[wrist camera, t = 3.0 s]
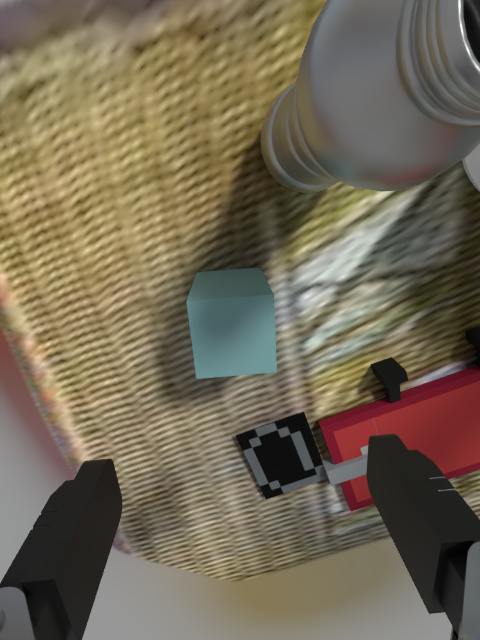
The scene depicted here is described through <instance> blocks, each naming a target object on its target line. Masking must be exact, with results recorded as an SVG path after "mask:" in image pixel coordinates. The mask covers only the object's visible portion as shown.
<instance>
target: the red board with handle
mask: <svg viewBox="0 0 480 640" xmlns="http://www.w3.org/2000/svg"><path fill="white" fill-rule="evenodd" d="M465 332H466V339H467V341H468V342H470V343H471V344H473V345H475V346H476V347H478V352H477V362H476V366H474V367H471V368H468V369H465V370H462V371H460V372H457V373H454V374H451V375H448V376H445V377H442V378H440V379H437V380H434V381H431V382H428V383H425V384H422V385H420V386H417V387H414V388H411V389H408V390H405V391H402V392H400V383H402V382H405V381H408V377H407V372H406V370H405V369H403V368H402V367H401V366H400V365H399V364H398V363H397V362H396V361H395V360H394V359H393V358H392V357H391V358H388V359H385V360H382V361H379V362H377V363H374V364H371V366H372V369H373V373H374V374H375V375H376V377H377V378H378V379H379V380H380V381H381V382H382V384H383V385H384V387H385V395H386V397H385V398H382V399H380V400H377V401H374V402H371V403H368V404H365V405H362V406H360V407H357V408H354V409H351V410H348V411H345V412H342V413H340V414H337V415H334V416H331V417H328V418H325V419H323V420H320V421H318V423H319V425H320V428H321V431H322V434H323V436H324V439H325V442H326V445H327V448H328V450H329V453H330V456H331V457H329V458H326V459H323V460H322V459H321V457H320V454H319V451H318V449H317V446H316V443H315V441H314V438H313V435H312V433H311V430H310V427H309V425H308V422H307V419H306V416H305V414H304V412H302V413H299V414H296V415H293V416H291V417H288V418H285V419H282V420H279V421H276V422H274V423H271V424H268V425H265V426H262V427H259V428H257V429H254V430H251V431H248V432H245V433H243V434H240V435H237V436H236V437H237V440H238V442H239V444H240V446H241V448H242V450H243V452H244V454H245V456H246V458H247V460H248V463H249V465H250V467H251V469H252V471H253V473H254V475H255V477H256V479H257V481H258V484H259V486H260V488H261V490H262V492H263V494H264V496H265V498H266V499H269V498H272V497H275V496H278V495H280V494H283V493H286V492H289V491H292V490H295V489H298V488H301V487H304V486H307V485H310V484H313V483H316V482H319V481H322V480H325V479H328V478H329V481H330V483H331V486H333V485H336V484H339V483H340V484H341V487H342V489H343V492H344V495H345V498H346V500H347V503H348V506H349V508H350V510H351V511H354V510H357V509H360V508H363V507H366V506H369V505H372V504H375V503H374V501H373V499H372V497H371V494H370V492H369V488H368V484H367V476H366V472H367V457H368V442H369V437H370V436H374V435H385V434H396V435H398V437H399V438H400V439H401V441H402V442H403V443H404V445H405V446H406V447H407V449H408V450H416V449H417V450H418V451H420V452H421V453H422V454H424V455H425V456H427V457H428V458H429V459H431V460H432V461H433V462H434V463H435V464H436V465H437V467H438V468H439V469H440V470H441V472H442V473H443V474H444V475H445V478H446V479H451V478H454V477H457V476H460V475H463V474H466V473H469V472H473V471H476V470H479V469H480V327H477V328H474V329H471V330H468V331H465Z"/></svg>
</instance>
